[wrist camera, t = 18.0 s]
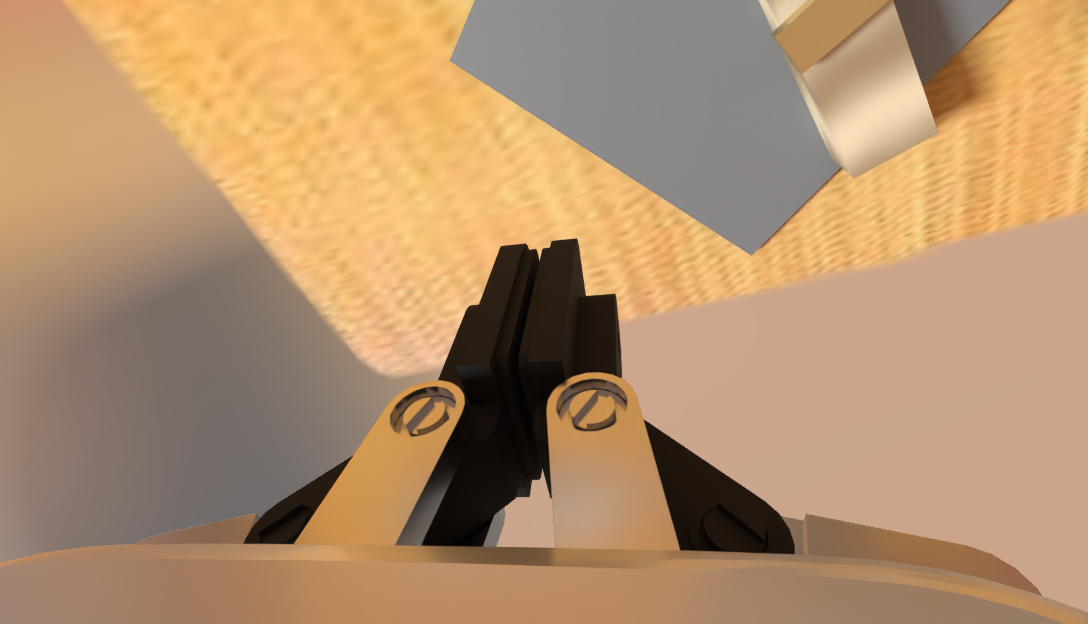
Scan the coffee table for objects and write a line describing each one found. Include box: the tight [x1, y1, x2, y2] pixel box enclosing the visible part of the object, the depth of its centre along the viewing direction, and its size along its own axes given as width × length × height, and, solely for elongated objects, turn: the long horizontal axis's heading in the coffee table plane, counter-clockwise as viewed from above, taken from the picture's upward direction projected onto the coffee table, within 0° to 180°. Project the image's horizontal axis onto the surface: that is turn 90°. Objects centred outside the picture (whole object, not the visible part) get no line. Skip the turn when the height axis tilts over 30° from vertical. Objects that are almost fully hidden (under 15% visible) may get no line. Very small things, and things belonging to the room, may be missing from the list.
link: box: [759, 0, 938, 178], centre depth 26 cm, size 18×6×4 cm, turn 38°
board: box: [450, 0, 1010, 255], centre depth 29 cm, size 20×25×1 cm
